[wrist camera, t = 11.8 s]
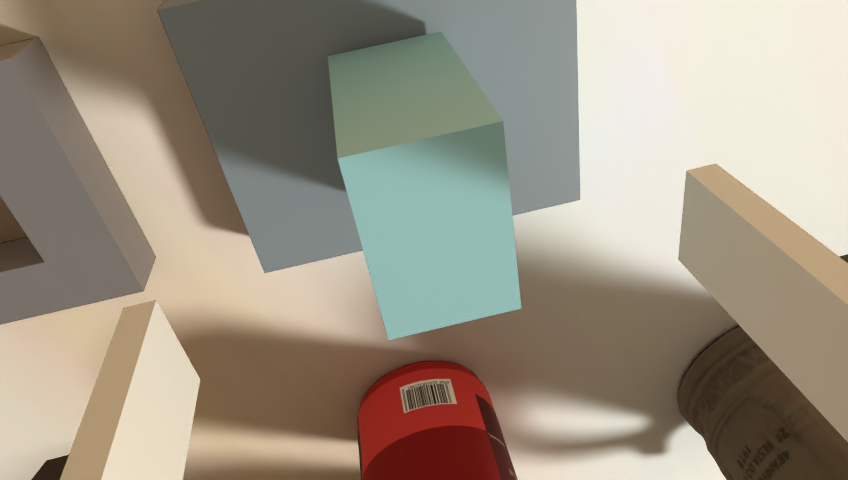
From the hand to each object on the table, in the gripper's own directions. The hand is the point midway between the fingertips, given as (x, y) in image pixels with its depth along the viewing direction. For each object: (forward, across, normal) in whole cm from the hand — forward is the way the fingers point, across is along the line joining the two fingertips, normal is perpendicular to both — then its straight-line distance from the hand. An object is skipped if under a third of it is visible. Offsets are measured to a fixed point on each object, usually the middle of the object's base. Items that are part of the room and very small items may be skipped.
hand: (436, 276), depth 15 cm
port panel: (+12, +1, 0) cm, 12 cm away
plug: (+12, +1, 0) cm, 12 cm away
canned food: (+13, -1, -19) cm, 23 cm away
